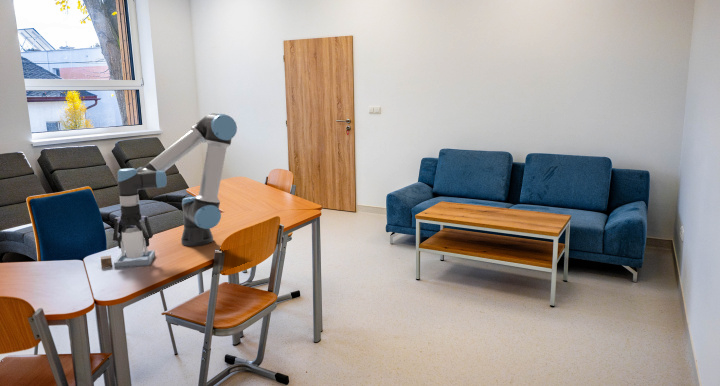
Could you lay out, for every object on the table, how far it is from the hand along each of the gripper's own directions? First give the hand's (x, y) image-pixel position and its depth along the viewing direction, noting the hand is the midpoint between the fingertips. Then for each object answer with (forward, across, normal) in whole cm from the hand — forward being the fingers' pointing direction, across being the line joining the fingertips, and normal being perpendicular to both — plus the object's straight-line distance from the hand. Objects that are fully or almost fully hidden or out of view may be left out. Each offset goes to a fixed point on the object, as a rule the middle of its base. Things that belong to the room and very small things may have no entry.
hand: (134, 254), depth 220 cm
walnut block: (+3, +11, +3) cm, 12 cm away
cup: (+1, 0, 0) cm, 1 cm away
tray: (+3, 0, 0) cm, 3 cm away
